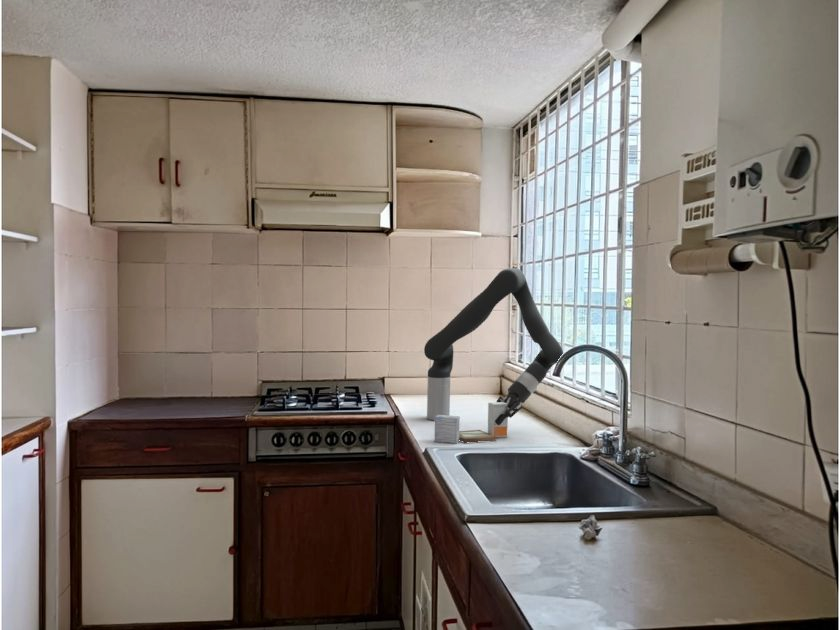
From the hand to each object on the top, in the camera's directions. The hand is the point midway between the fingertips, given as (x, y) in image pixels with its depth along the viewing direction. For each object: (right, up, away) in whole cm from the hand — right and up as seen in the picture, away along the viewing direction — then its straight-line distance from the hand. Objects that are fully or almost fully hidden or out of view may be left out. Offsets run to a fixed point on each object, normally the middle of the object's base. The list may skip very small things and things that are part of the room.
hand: (493, 422), depth 219 cm
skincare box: (+2, -5, +1) cm, 6 cm away
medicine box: (-17, -5, -9) cm, 20 cm away
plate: (-8, -5, -3) cm, 10 cm away
